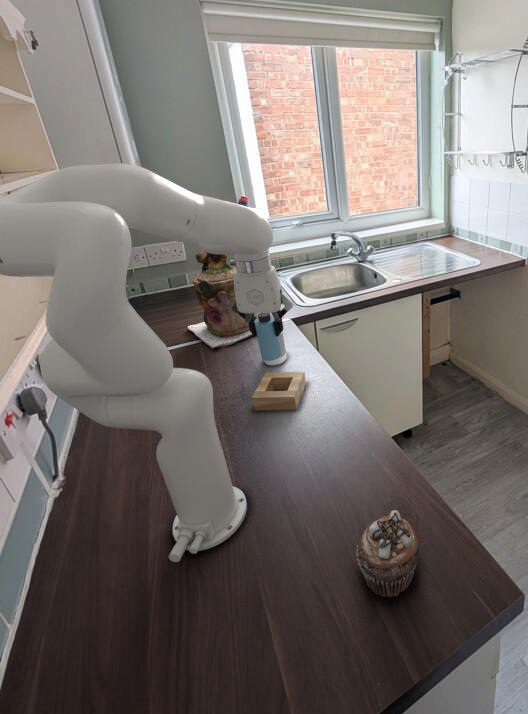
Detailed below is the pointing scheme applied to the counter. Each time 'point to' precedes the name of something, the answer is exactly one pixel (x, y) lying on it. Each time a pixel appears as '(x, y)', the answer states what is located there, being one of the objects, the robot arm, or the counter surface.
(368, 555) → the cupcake
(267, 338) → the bottle
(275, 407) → the square wooden frame
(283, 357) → the spray bottle
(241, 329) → the cookie jar
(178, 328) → the counter surface
